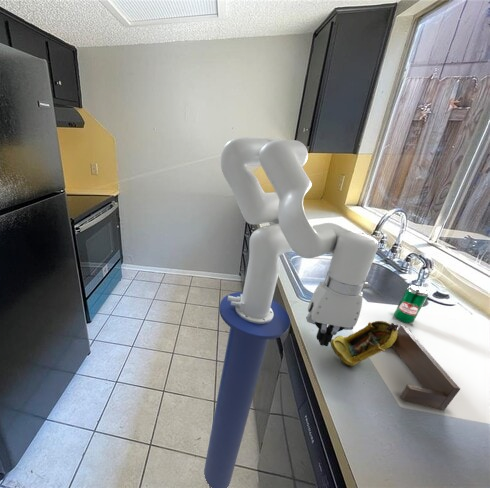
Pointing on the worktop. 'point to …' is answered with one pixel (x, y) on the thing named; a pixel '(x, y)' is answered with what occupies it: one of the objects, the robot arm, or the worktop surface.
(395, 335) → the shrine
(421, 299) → the soda can
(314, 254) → the robot arm
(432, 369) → the shoe rack
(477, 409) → the worktop surface
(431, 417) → the worktop surface
